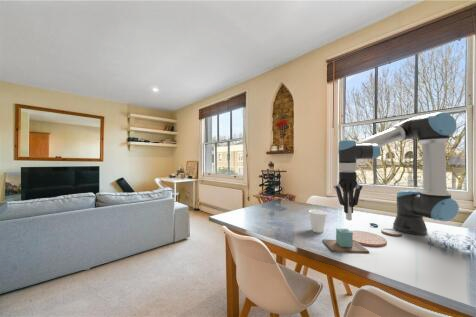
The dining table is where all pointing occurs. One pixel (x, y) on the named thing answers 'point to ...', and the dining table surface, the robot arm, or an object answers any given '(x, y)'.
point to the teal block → (344, 237)
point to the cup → (317, 220)
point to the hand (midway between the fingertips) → (348, 219)
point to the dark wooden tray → (337, 248)
